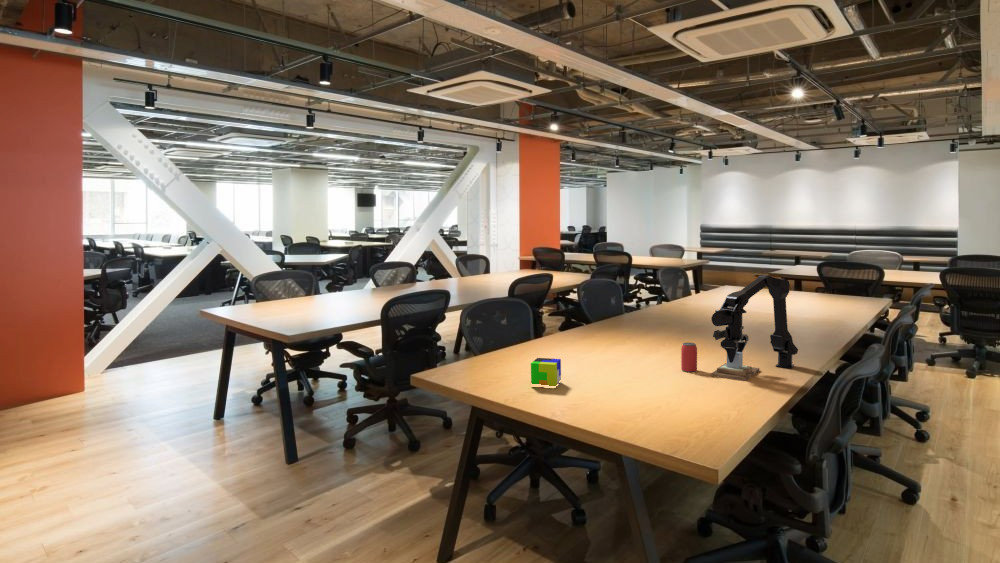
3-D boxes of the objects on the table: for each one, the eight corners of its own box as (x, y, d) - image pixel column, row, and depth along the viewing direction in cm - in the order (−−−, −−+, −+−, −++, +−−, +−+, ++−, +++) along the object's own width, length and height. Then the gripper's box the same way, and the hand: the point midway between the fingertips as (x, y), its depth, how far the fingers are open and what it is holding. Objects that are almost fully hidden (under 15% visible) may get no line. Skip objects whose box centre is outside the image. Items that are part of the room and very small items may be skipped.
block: (730, 364, 245) (730, 351, 245) (742, 366, 242) (742, 352, 242) (726, 367, 241) (726, 353, 241) (738, 368, 238) (739, 354, 238)
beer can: (698, 372, 246) (698, 345, 245) (682, 372, 248) (682, 345, 247) (695, 368, 253) (696, 342, 252) (680, 368, 254) (680, 342, 253)
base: (726, 366, 256) (726, 359, 255) (759, 370, 247) (759, 363, 247) (711, 376, 240) (711, 368, 240) (746, 380, 232) (746, 373, 231)
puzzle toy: (561, 382, 236) (560, 359, 235) (555, 389, 227) (555, 364, 226) (537, 381, 239) (537, 357, 238) (531, 387, 230) (530, 363, 229)
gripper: (722, 319, 252) (722, 354, 254) (708, 325, 238) (707, 362, 239) (749, 321, 245) (748, 357, 247) (735, 328, 231) (735, 365, 232)
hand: (734, 360), depth 242 cm, fingers open, 9 cm apart
